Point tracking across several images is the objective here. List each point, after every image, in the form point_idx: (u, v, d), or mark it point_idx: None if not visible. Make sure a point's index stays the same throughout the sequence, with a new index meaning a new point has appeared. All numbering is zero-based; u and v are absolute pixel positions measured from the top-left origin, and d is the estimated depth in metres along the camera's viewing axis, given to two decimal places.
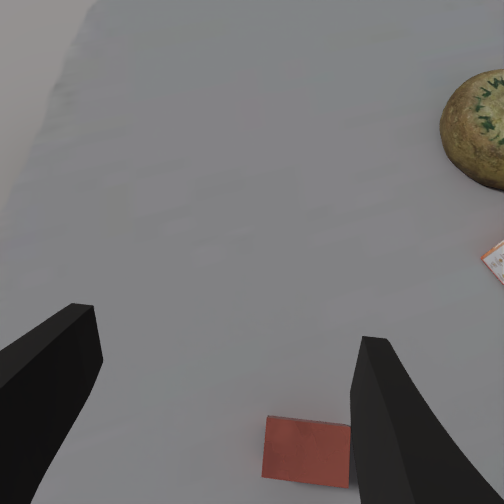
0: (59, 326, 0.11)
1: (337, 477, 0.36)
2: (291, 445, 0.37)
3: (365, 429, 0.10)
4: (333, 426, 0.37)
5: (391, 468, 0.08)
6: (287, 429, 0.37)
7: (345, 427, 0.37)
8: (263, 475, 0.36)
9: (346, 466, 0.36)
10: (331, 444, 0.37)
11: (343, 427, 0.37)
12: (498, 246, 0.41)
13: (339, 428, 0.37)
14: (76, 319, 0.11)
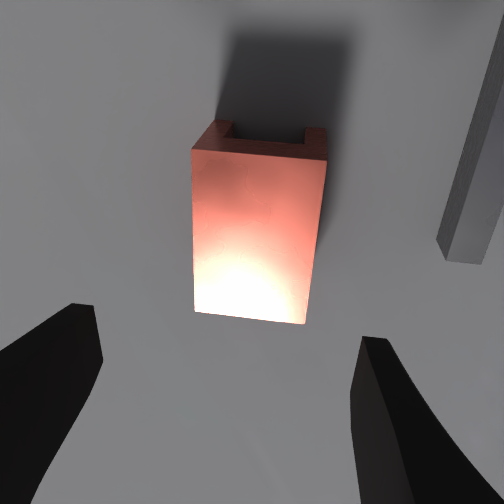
0: (59, 326, 0.11)
1: (302, 184, 0.15)
2: (243, 271, 0.17)
3: (365, 429, 0.10)
4: (195, 187, 0.16)
5: (391, 468, 0.08)
6: (212, 277, 0.18)
7: (193, 160, 0.15)
8: (301, 320, 0.18)
9: (279, 164, 0.15)
10: (233, 193, 0.16)
11: (194, 165, 0.15)
12: None
13: (197, 174, 0.16)
14: (76, 319, 0.11)
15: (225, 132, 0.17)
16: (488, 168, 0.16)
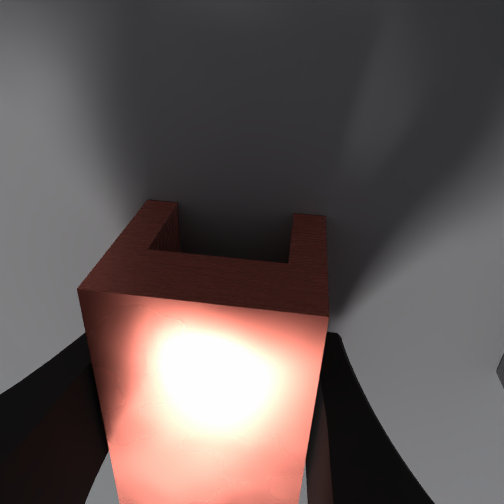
0: None
1: (284, 350, 0.08)
2: (190, 461, 0.10)
3: None
4: (93, 346, 0.09)
5: (323, 458, 0.08)
6: (141, 466, 0.11)
7: (85, 305, 0.08)
8: None
9: (239, 317, 0.08)
10: (162, 358, 0.09)
11: (87, 313, 0.08)
12: None
13: (94, 328, 0.09)
14: None
15: (156, 234, 0.10)
16: None
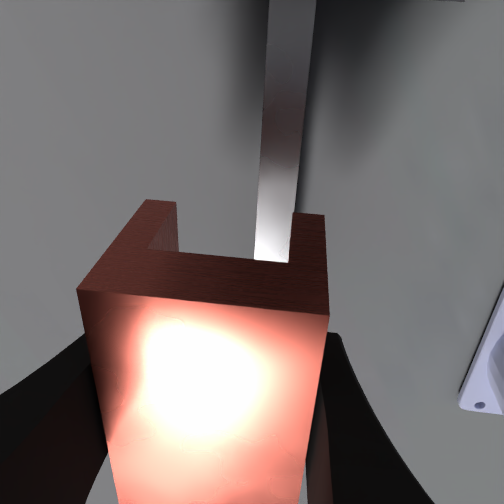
0: None
1: (285, 349, 0.08)
2: (189, 461, 0.10)
3: None
4: (92, 346, 0.09)
5: (323, 458, 0.08)
6: (141, 466, 0.11)
7: (84, 305, 0.08)
8: None
9: (239, 317, 0.08)
10: (162, 358, 0.09)
11: (86, 313, 0.08)
12: None
13: (93, 328, 0.09)
14: None
15: (154, 233, 0.10)
16: (269, 203, 0.17)
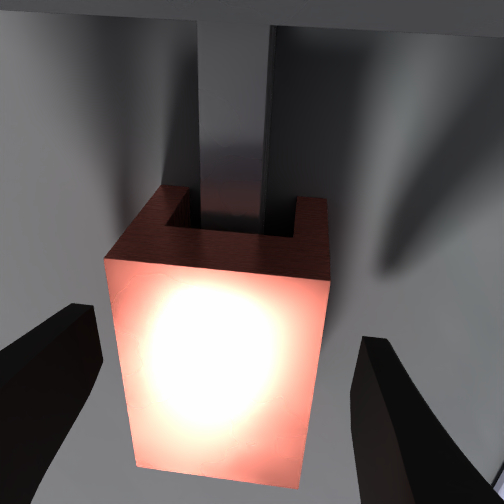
0: (59, 326, 0.11)
1: (290, 313, 0.09)
2: (202, 422, 0.11)
3: (365, 429, 0.10)
4: (116, 312, 0.10)
5: (391, 468, 0.08)
6: (158, 428, 0.12)
7: (110, 274, 0.09)
8: (293, 485, 0.12)
9: (250, 283, 0.09)
10: (179, 323, 0.10)
11: (112, 281, 0.09)
12: None
13: (118, 295, 0.10)
14: (76, 319, 0.11)
15: (171, 213, 0.11)
16: None
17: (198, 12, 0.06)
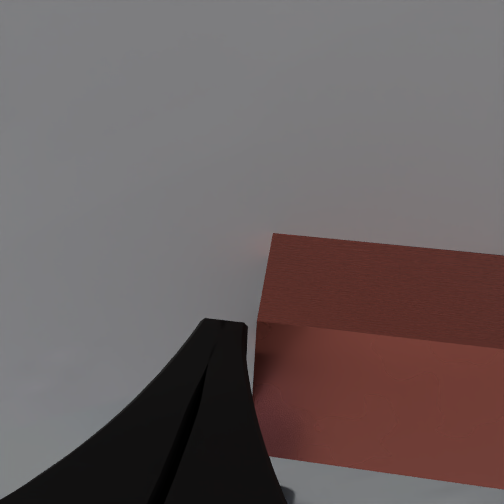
0: (208, 344, 0.10)
1: (492, 470, 0.11)
2: (349, 396, 0.10)
3: None
4: None
5: None
6: (336, 356, 0.10)
7: None
8: None
9: None
10: (499, 401, 0.10)
11: None
12: None
13: None
14: (220, 336, 0.11)
15: None
16: None
17: None
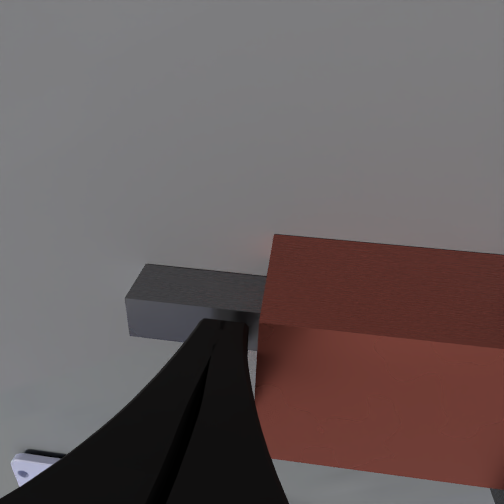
0: (207, 343, 0.10)
1: (497, 470, 0.11)
2: (352, 398, 0.10)
3: None
4: None
5: None
6: (339, 358, 0.10)
7: None
8: None
9: None
10: (503, 402, 0.10)
11: None
12: None
13: None
14: (219, 336, 0.11)
15: None
16: None
17: None
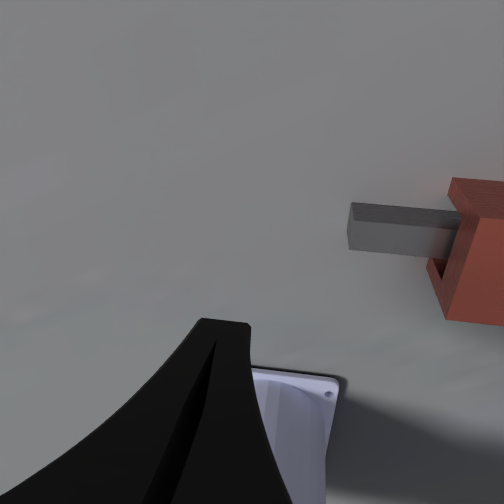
0: (204, 343, 0.10)
1: None
2: None
3: None
4: None
5: None
6: None
7: None
8: (450, 317, 0.18)
9: None
10: None
11: None
12: None
13: None
14: (217, 335, 0.11)
15: None
16: (452, 239, 0.18)
17: None
